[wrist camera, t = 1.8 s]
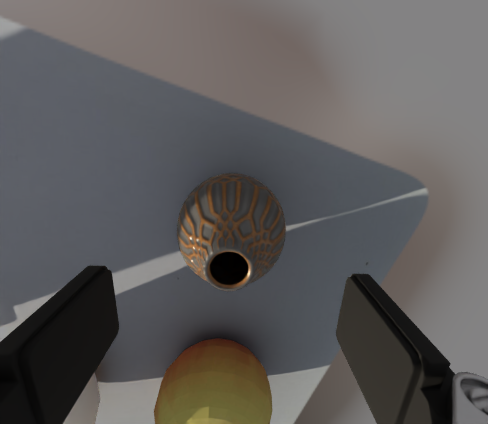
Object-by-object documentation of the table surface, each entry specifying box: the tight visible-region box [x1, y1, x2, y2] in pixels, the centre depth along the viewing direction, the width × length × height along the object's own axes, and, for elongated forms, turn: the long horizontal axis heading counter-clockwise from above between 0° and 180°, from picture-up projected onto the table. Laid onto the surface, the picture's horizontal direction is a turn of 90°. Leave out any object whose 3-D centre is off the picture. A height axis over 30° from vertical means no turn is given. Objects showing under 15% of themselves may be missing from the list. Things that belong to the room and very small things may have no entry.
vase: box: [177, 173, 286, 291], centre depth 15 cm, size 7×7×9 cm
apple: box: [154, 338, 272, 424], centre depth 21 cm, size 10×10×8 cm
